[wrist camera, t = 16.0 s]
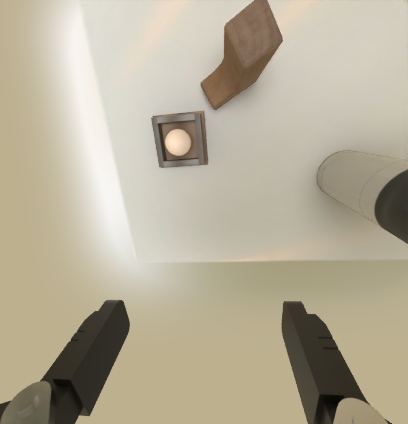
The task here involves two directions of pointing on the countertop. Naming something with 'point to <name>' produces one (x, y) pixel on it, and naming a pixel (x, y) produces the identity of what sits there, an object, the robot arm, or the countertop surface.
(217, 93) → the wooden block
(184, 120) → the holder
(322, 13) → the countertop surface
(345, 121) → the countertop surface
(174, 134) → the egg
